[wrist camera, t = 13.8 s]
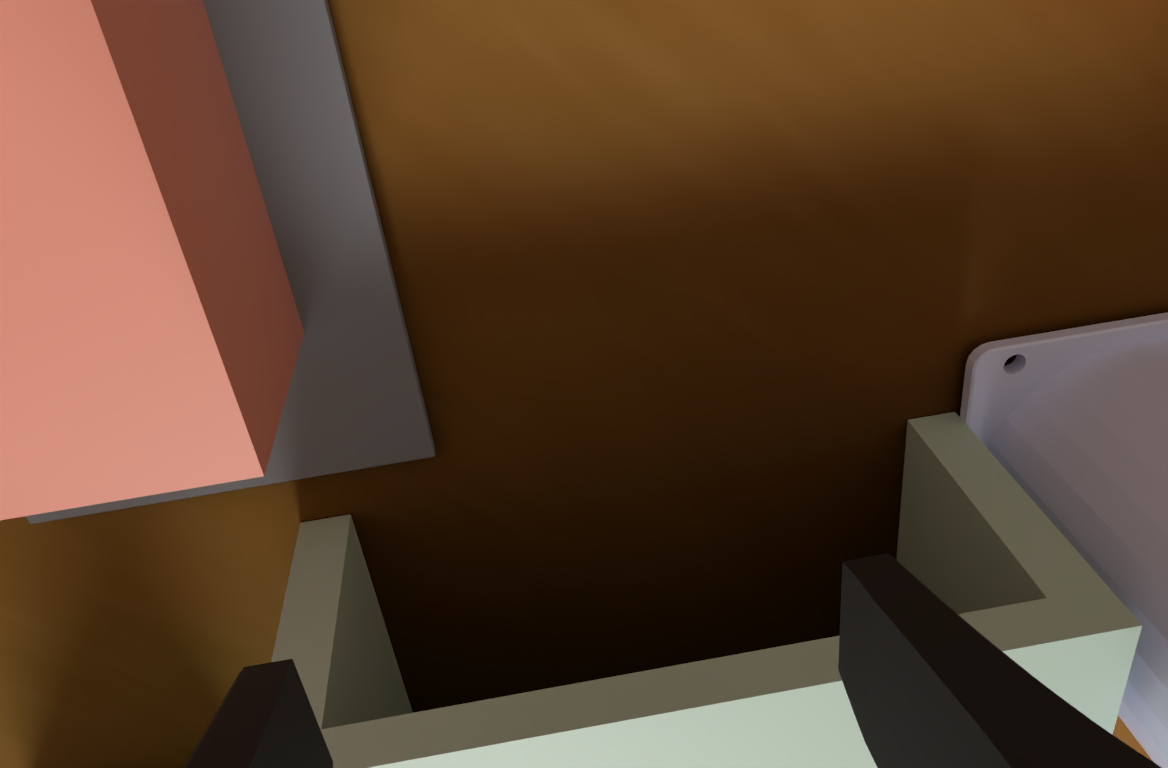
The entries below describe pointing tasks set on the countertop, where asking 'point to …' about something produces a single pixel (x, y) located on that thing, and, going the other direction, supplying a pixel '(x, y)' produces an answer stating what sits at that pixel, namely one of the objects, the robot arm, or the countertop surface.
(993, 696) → the robot arm
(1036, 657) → the shelf cubby
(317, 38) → the mat
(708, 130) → the countertop surface
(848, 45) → the countertop surface
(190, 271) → the plain pink rectangular block
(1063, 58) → the countertop surface
